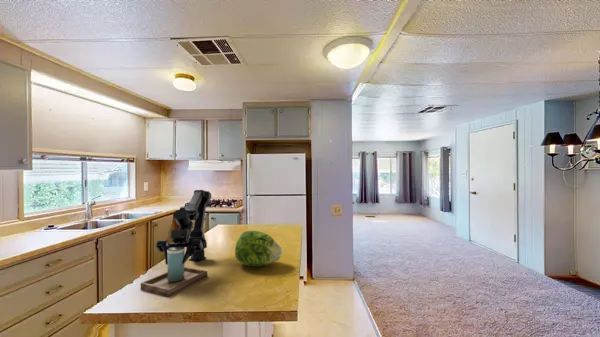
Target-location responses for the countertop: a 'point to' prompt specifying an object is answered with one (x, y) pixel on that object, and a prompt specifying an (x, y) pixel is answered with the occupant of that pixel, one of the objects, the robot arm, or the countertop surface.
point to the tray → (170, 288)
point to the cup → (175, 264)
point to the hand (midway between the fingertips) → (174, 263)
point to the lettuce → (257, 249)
